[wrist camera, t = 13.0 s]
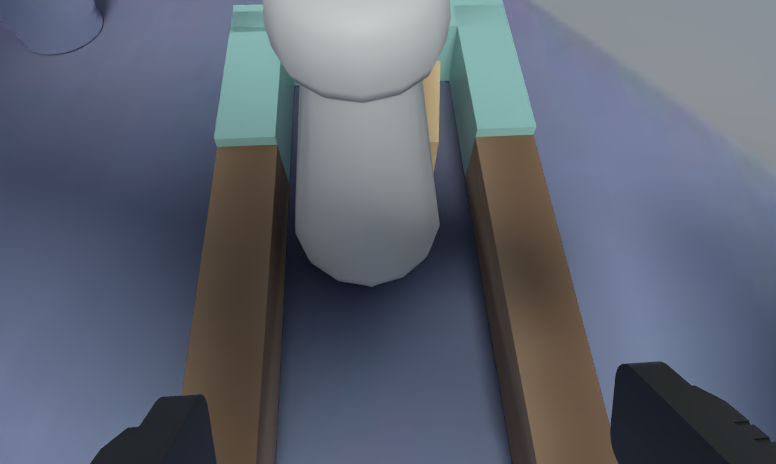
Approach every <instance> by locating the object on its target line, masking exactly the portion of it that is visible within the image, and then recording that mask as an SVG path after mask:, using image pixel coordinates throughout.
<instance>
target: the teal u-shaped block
mask: <svg viewBox="0 0 776 464" xmlns="http://www.w3.org/2000/svg"><path fill="white" fill-rule="evenodd" d="M450 9H451V20H450V25H449V30H448V35H447V40H446V43H445V45H444V47H443V49H442V51H441V53H440V55H439V57H438V59H437V61H440V81H449V85H450V91H451V97H452V103H453V109H454V115H455V121H456V127H457V133H458V139H459V145H460V151H461V157H462V163H463V169H464V175H465V176H466V172H467V168H468V164H469V160H470V156H471V152H472V149H473V145H474V141H475V137H487V136H513V135H533V134H534V132H535V129H536V123H535V119H534V116H533V112H532V108H531V105H530V101H529V97H528V94H527V90H526V86H525V82H524V79H523V75H522V71H521V68H520V64H519V60H518V57H517V53H516V49H515V45H514V42H513V38H512V34H511V31H510V27H509V23H508V20H507V16H506V12H505V9H504V5H503V1H502V0H450ZM294 86H299V84H298V83H296V82H294V81H293V80H292V78H291V77H290V75H289V74H288V73H287V71H286V70H285V68H284V66H283V65H282V63H281V62H280V60H279V58H278V57H277V55H276V54H275V52H274V50H273V49H272V47H271V44H270V41H269V38H268V35H267V32H266V29H265V26H264V15H263V4H262V5H234V7H233V13H232V20H231V27H230V33H229V40H228V47H227V53H226V60H225V67H224V73H223V80H222V87H221V93H220V100H219V107H218V113H217V120H216V127H215V133H214V141H215V143H216V145H217V147H228V146H254V145H278V148H279V152H280V155H281V159H282V162H283V165H284V169H285V172H286V176H287V179H288V182H289V183H290V162H291V142H292V122H293V102H294Z"/></svg>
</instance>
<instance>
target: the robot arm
mask: <svg viewBox="0 0 776 464" xmlns="http://www.w3.org/2000/svg"><path fill="white" fill-rule="evenodd" d="M610 438H611V444H612V449H613V452H614V455H615V457H616V460H617V462H618V464H776V442H771V441H770V439H769V437H768V436H767V435H766V434H765V433H763V432H762V431H761V430H760V429H759V428H757V427H756V426H755V425H750V423H749V420H748V419H746V418H745V417H744V416H743V415H741V414H740V413H739V412H738V411H737V410H735V409H734V408H733V407H732V406H731V405H729V404H728V403H727V402H726V401H724V400H722V399H720V398H718V397H716V396H714V395H712V394H710V393H708V392H706V391H704V390H702V389H701V388H699V387H697V386H691V385H690V384H689V383H688V382H687V381H686V380H684V379H683V378H682V377H681V376H680V375H679V374H677V373H676V372H675V371H674V370H673V369H672V368H670V367H669V366H668V365H667V364H665V363H663V362H645V363H630V364H622V365H620V366H619V367H618V369H617V372H616V377H615V387H614V397H613V407H612V418H611V428H610ZM90 464H217V461H216V454H215V448H214V442H213V436H212V430H211V423H210V417H209V411H208V405H207V401H206V399H205V397H204V395H202V394H199V395H184V396H170V397H161V398H159V399H158V400H157V401H156V402H155V404H154V405H153V407H152V408H151V410H150V411H149V413H148V414H147V416H146V417H145V419H144V420H143V422H142V423H141V425H140V426H139V427H132V428H127V429H126V430H124V431H123V432H122V433H120V434H119V435H118V436H117V437H115V438H114V439H113V440H112V441H110V442H109V443H108V444H107V445H105V446H104V447H103V448H101V450H100V451H99V452H98V454H97V455H96V456H95V458H94V459H93V461H92V462H91V463H90Z"/></svg>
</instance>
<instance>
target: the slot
mask: <svg viewBox="0 0 776 464" xmlns="http://www.w3.org/2000/svg"><path fill="white" fill-rule="evenodd" d="M465 181H466V187H467V193H468V199H469V205H470V212H471V218H472V224H473V230H474V236H475V242H476V248H477V254H478V260H479V266H480V272H481V278H482V284H483V290H484V296H485V302H486V308H487V314H488V320H489V326H490V332H491V338H492V344H493V350H494V356H495V362H496V368H497V375H498V381H499V387H500V393H501V399H502V405H503V411H504V417H505V423H506V429H507V435H508V441H509V447H510V453H511V459H512V464H618V462H617V460H616V457H615V455H614V452H613V449H612V444H611V438H610V424H609V420H608V416H607V413H606V409H605V405H604V401H603V397H602V394H601V390H600V386H599V382H598V378H597V375H596V371H595V367H594V363H593V360H592V356H591V352H590V348H589V344H588V341H587V337H586V333H585V329H584V325H583V322H582V318H581V314H580V310H579V306H578V303H577V299H576V295H575V291H574V287H573V284H572V280H571V276H570V272H569V268H568V265H567V261H566V257H565V253H564V249H563V246H562V242H561V238H560V234H559V230H558V227H557V223H556V219H555V215H554V212H553V208H552V204H551V200H550V196H549V193H548V189H547V185H546V181H545V177H544V174H543V170H542V166H541V162H540V158H539V155H538V151H537V147H536V143H535V139H534V136H533V135H513V136H487V137H475V141H474V145H473V149H472V152H471V156H470V160H469V164H468V168H467V172H466V176H465ZM288 203H289V182H288V179H287V176H286V172H285V169H284V165H283V162H282V159H281V155H280V152H279V148H278V145H254V146H228V147H217V152H216V159H215V166H214V173H213V180H212V187H211V194H210V201H209V208H208V215H207V222H206V229H205V235H204V242H203V249H202V256H201V263H200V270H199V277H198V284H197V291H196V298H195V305H194V312H193V319H192V326H191V333H190V340H189V347H188V354H187V360H186V367H185V374H184V381H183V388H182V395H181V396H184V395H199V394H202V395H204V397H205V399H206V401H207V405H208V411H209V417H210V423H211V430H212V436H213V442H214V448H215V454H216V461H217V464H276V445H277V425H278V405H279V384H280V364H281V344H282V324H283V304H284V283H285V263H286V243H287V223H288Z"/></svg>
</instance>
